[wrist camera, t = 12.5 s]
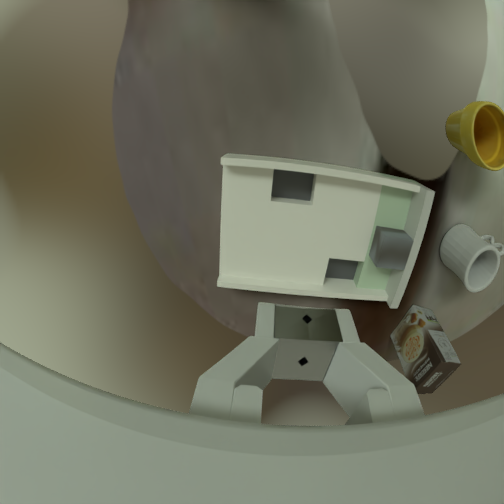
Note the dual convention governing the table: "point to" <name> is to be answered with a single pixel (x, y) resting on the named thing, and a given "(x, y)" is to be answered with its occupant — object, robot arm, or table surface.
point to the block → (390, 248)
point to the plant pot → (479, 133)
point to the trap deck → (314, 227)
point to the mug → (471, 256)
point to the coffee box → (424, 350)
